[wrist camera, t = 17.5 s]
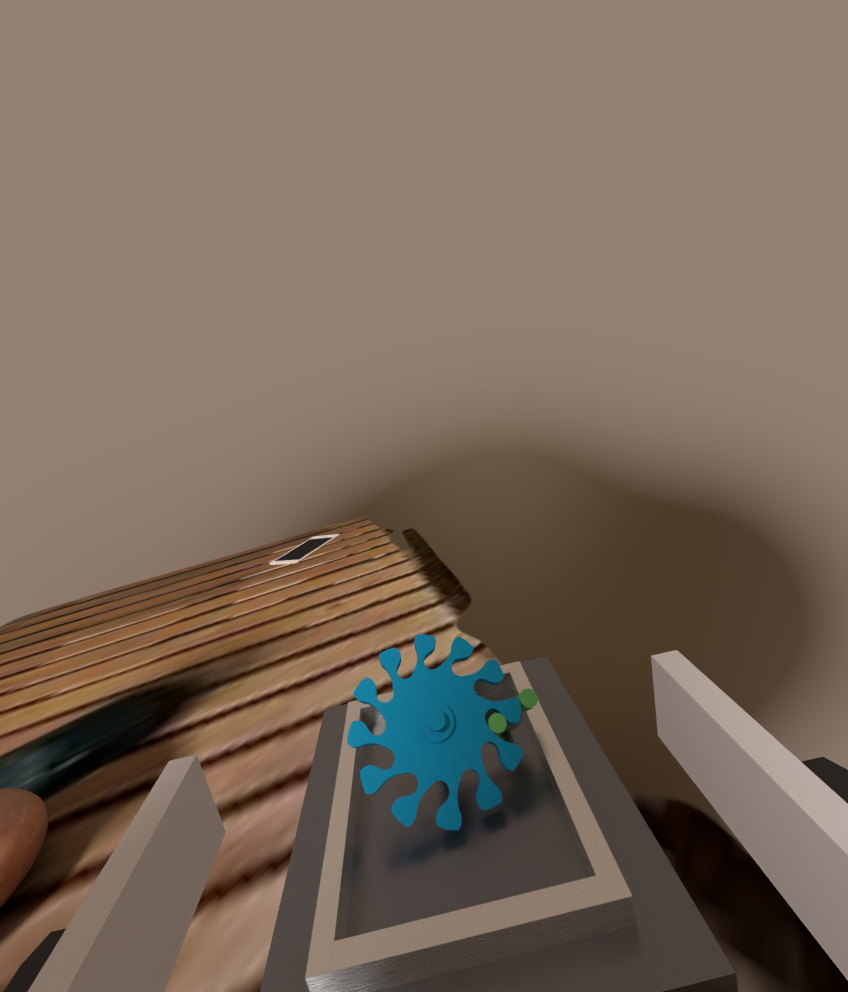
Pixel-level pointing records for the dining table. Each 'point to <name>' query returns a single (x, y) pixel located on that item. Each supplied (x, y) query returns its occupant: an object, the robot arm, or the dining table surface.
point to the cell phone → (304, 550)
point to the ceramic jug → (19, 836)
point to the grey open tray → (486, 872)
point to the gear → (439, 729)
